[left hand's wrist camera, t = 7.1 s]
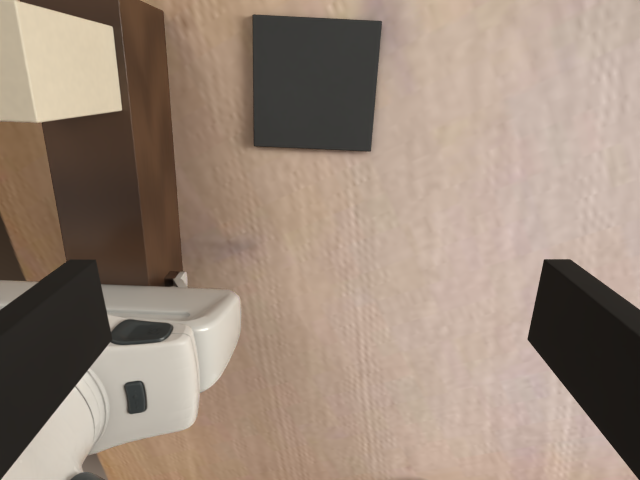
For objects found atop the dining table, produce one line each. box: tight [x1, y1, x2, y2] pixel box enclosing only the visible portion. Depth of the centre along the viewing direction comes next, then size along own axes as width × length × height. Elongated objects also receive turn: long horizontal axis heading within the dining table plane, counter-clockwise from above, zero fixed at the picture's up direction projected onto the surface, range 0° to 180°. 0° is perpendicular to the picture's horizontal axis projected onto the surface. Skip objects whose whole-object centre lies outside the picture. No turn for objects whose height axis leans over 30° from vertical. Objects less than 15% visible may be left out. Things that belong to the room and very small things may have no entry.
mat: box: [253, 15, 382, 151], centre depth 35 cm, size 10×10×1 cm
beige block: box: [0, 0, 122, 123], centre depth 23 cm, size 5×5×9 cm
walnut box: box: [20, 0, 183, 287], centre depth 34 cm, size 26×6×8 cm, turn 177°
